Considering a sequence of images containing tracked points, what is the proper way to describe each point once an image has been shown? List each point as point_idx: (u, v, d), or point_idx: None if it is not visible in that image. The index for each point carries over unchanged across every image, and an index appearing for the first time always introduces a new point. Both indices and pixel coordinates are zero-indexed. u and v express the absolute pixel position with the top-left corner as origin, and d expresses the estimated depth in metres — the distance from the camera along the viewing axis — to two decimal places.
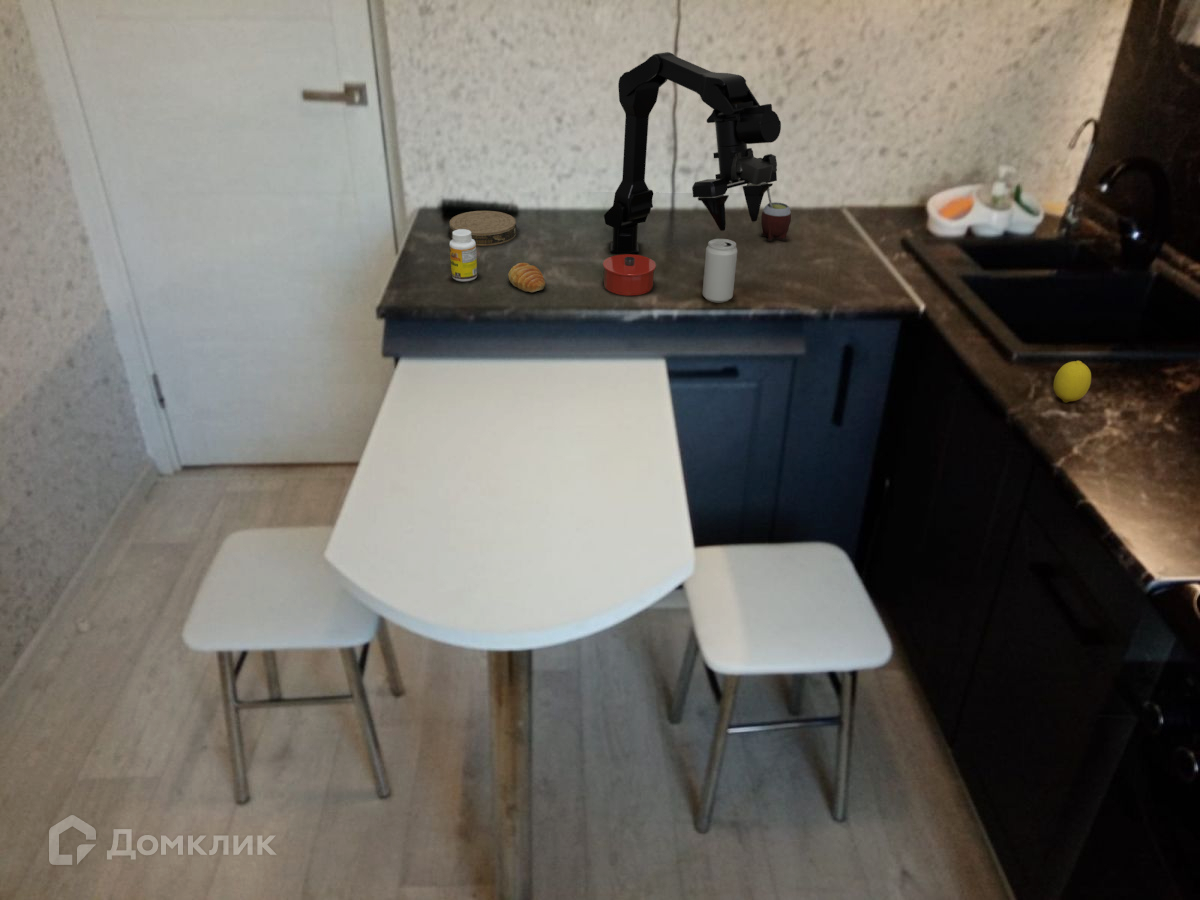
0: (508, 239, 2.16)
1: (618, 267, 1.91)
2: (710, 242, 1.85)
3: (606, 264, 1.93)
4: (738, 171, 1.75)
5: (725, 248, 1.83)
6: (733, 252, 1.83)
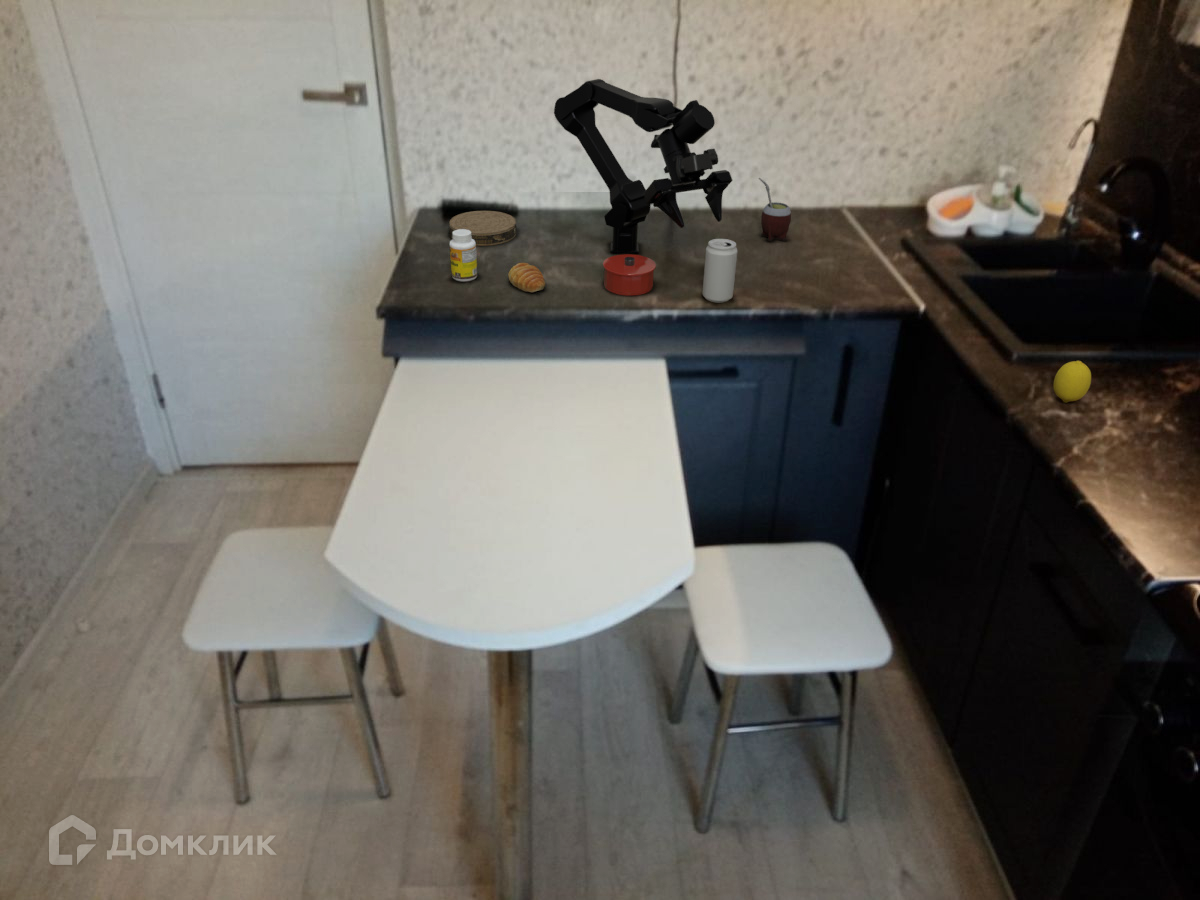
0: (508, 239, 2.16)
1: (618, 267, 1.91)
2: (710, 242, 1.85)
3: (606, 264, 1.93)
4: (680, 168, 1.87)
5: (725, 248, 1.83)
6: (733, 252, 1.83)
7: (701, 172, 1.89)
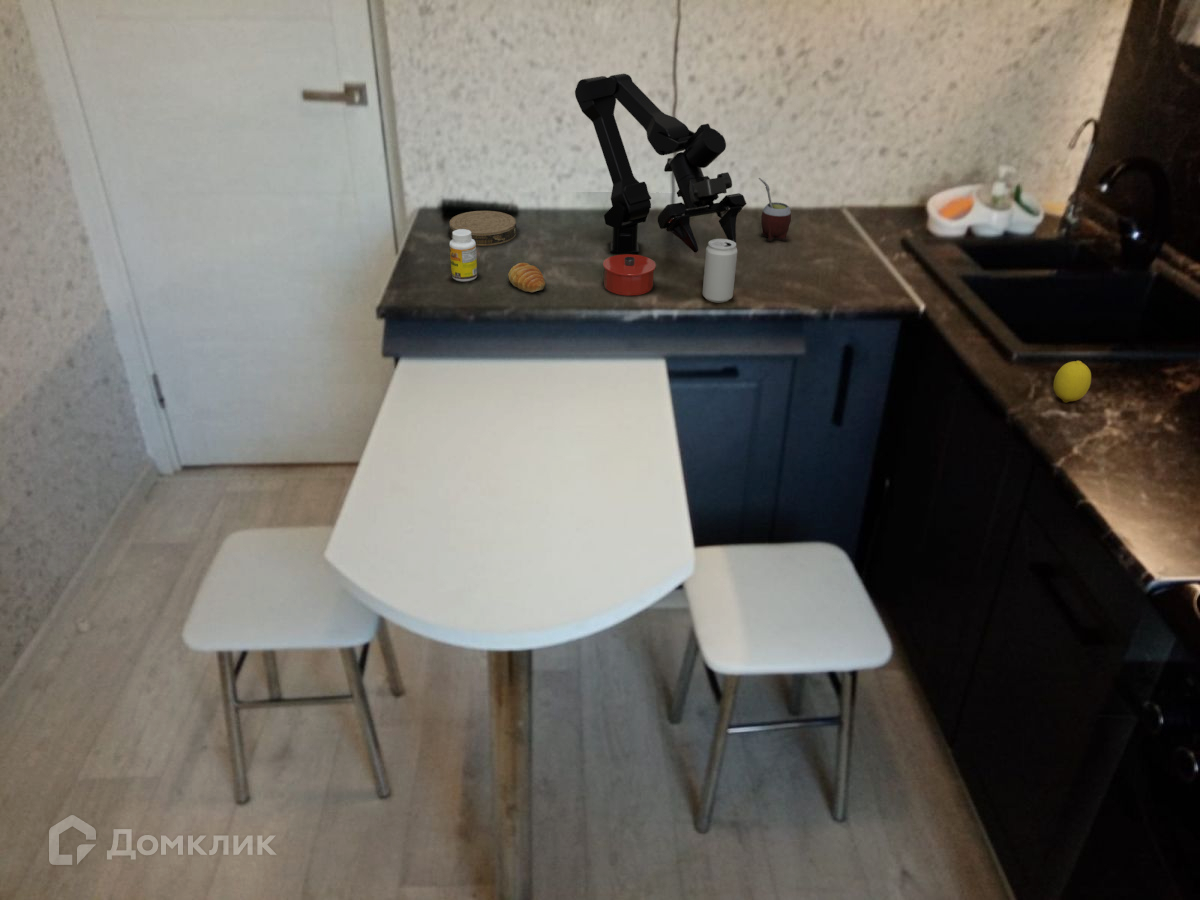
0: (508, 239, 2.16)
1: (618, 267, 1.91)
2: (710, 242, 1.85)
3: (606, 264, 1.93)
4: (694, 192, 1.84)
5: (725, 248, 1.83)
6: (733, 252, 1.83)
7: (715, 196, 1.87)
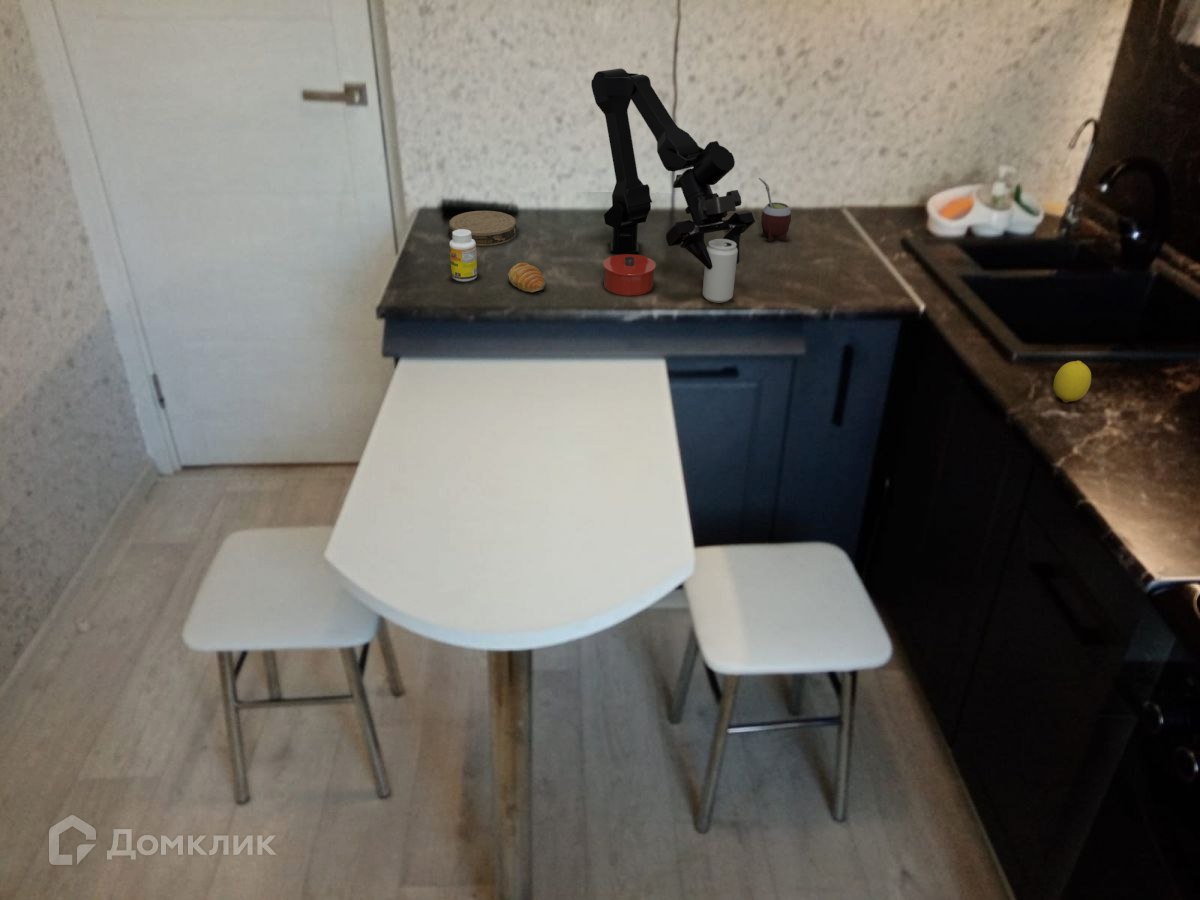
0: (508, 239, 2.16)
1: (618, 267, 1.91)
2: (710, 242, 1.85)
3: (606, 264, 1.93)
4: (703, 210, 1.83)
5: (725, 248, 1.83)
6: (733, 252, 1.83)
7: (724, 213, 1.85)
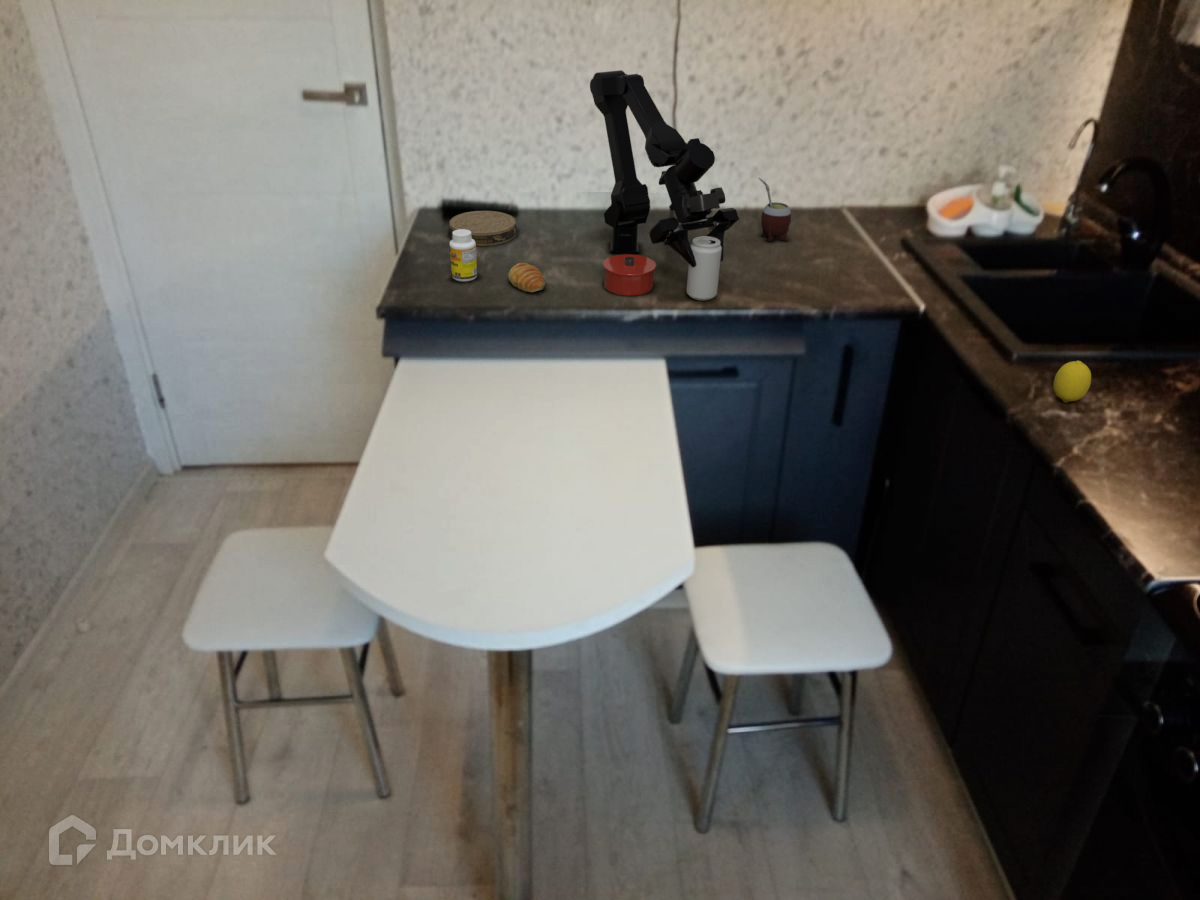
0: (508, 239, 2.16)
1: (618, 267, 1.91)
2: (694, 239, 1.84)
3: (606, 264, 1.93)
4: (687, 207, 1.82)
5: (709, 246, 1.82)
6: (717, 250, 1.83)
7: (708, 211, 1.84)
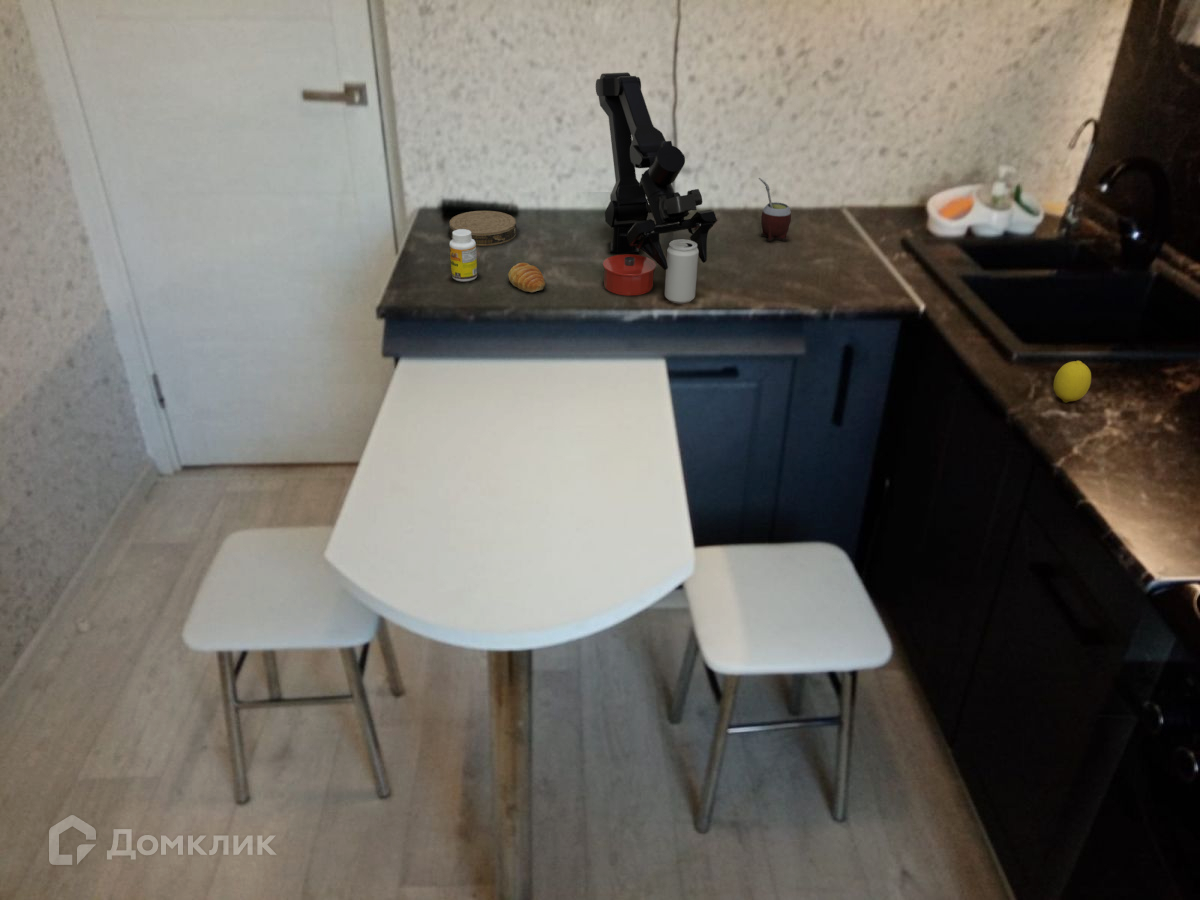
0: (508, 239, 2.16)
1: (618, 267, 1.91)
2: (671, 243, 1.85)
3: (606, 264, 1.93)
4: (664, 209, 1.82)
5: (685, 249, 1.82)
6: (694, 253, 1.83)
7: (685, 213, 1.84)
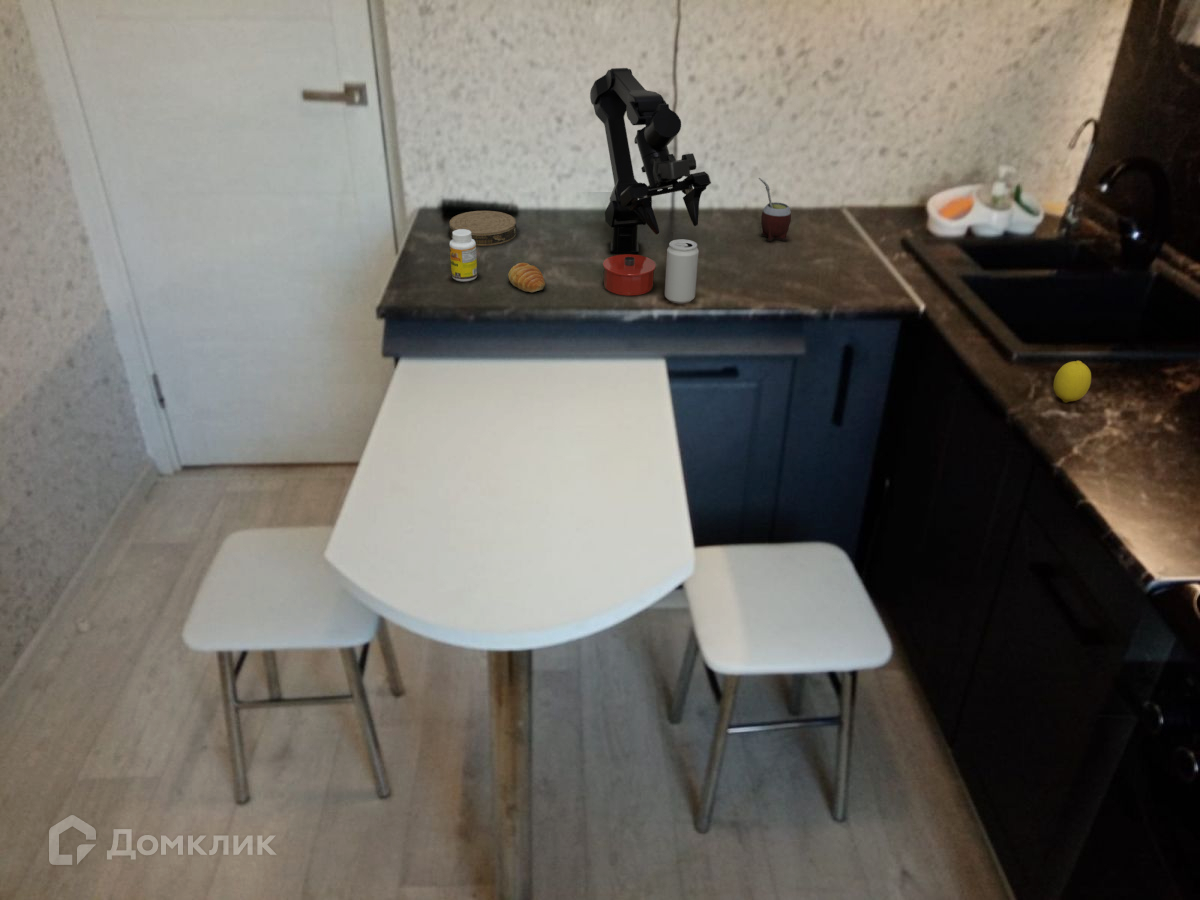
0: (508, 239, 2.16)
1: (618, 267, 1.91)
2: (671, 243, 1.85)
3: (606, 264, 1.93)
4: (657, 173, 1.82)
5: (685, 249, 1.82)
6: (694, 253, 1.83)
7: None
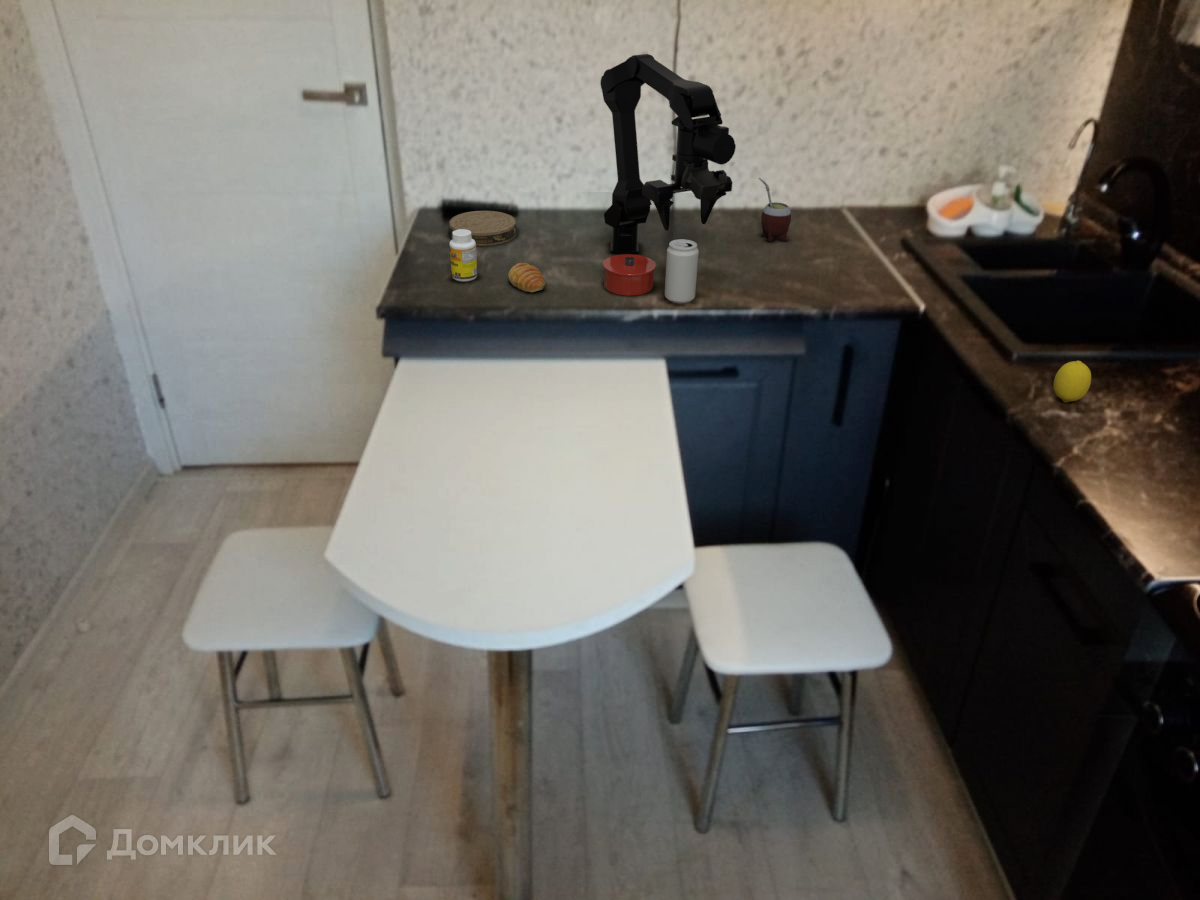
0: (508, 239, 2.16)
1: (618, 267, 1.91)
2: (671, 243, 1.85)
3: (606, 264, 1.93)
4: (687, 181, 1.82)
5: (685, 249, 1.82)
6: (694, 253, 1.83)
7: None
